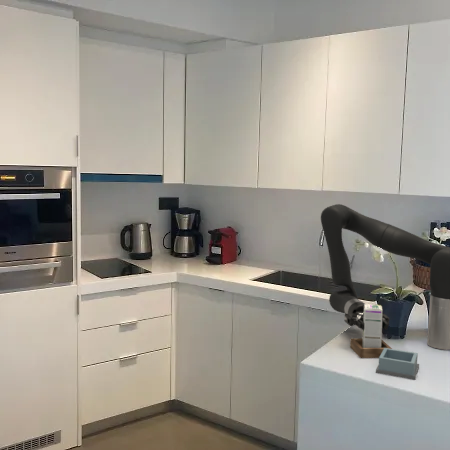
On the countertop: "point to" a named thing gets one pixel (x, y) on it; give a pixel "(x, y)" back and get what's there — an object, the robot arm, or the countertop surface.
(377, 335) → the syrup box
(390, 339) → the countertop surface
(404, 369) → the socket
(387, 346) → the shallow wooden tray
